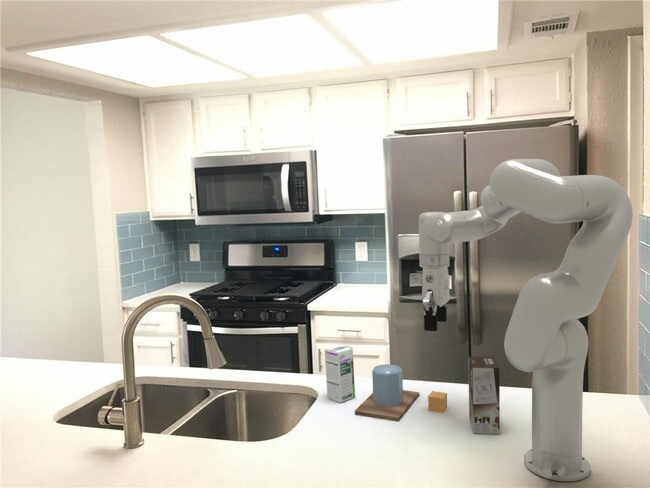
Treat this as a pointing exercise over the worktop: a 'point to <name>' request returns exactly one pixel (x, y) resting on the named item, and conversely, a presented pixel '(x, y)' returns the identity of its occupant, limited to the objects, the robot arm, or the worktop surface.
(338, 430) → the worktop surface
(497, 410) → the coffee box
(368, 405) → the board
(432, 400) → the block
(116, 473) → the worktop surface
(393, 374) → the cup
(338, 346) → the syrup box
